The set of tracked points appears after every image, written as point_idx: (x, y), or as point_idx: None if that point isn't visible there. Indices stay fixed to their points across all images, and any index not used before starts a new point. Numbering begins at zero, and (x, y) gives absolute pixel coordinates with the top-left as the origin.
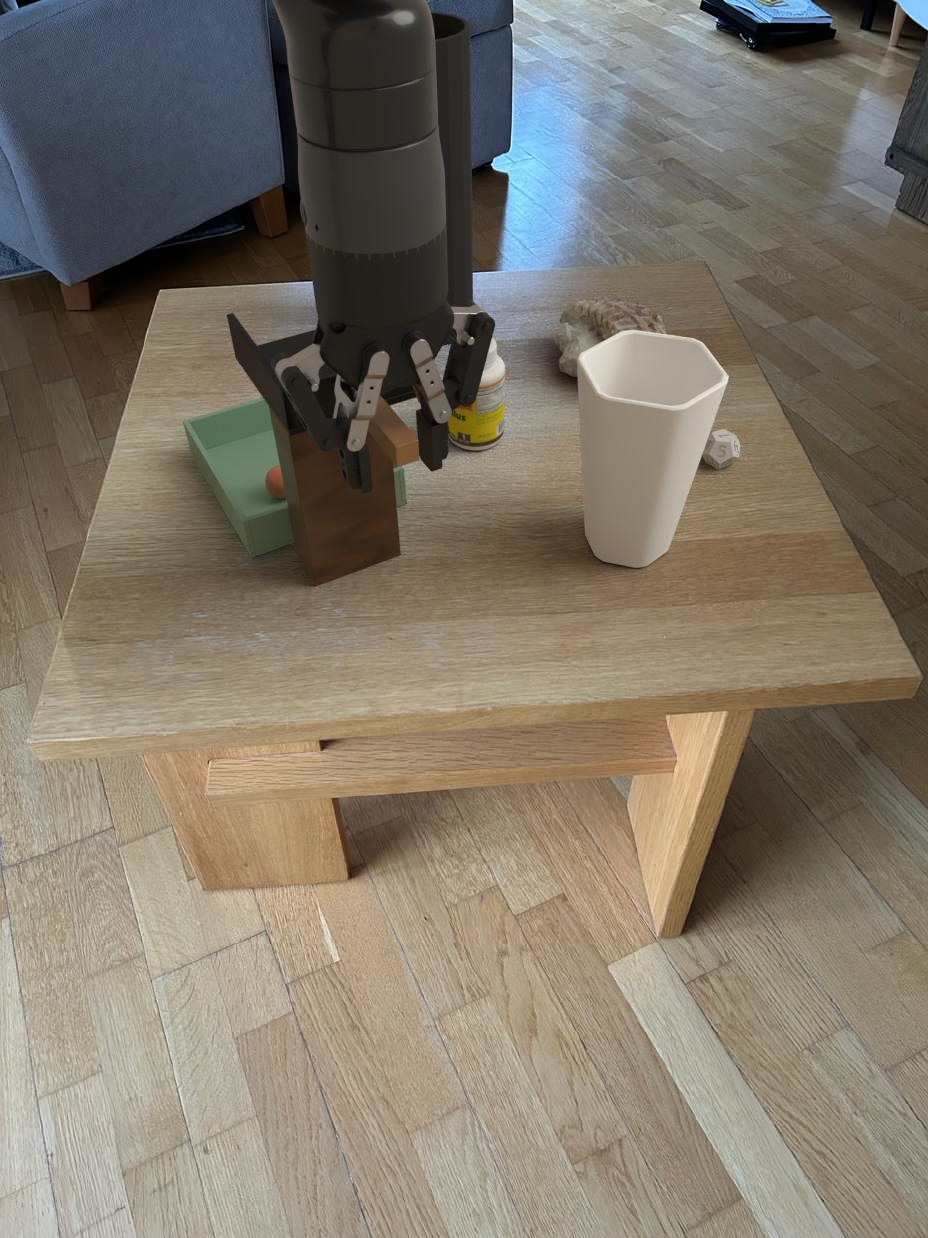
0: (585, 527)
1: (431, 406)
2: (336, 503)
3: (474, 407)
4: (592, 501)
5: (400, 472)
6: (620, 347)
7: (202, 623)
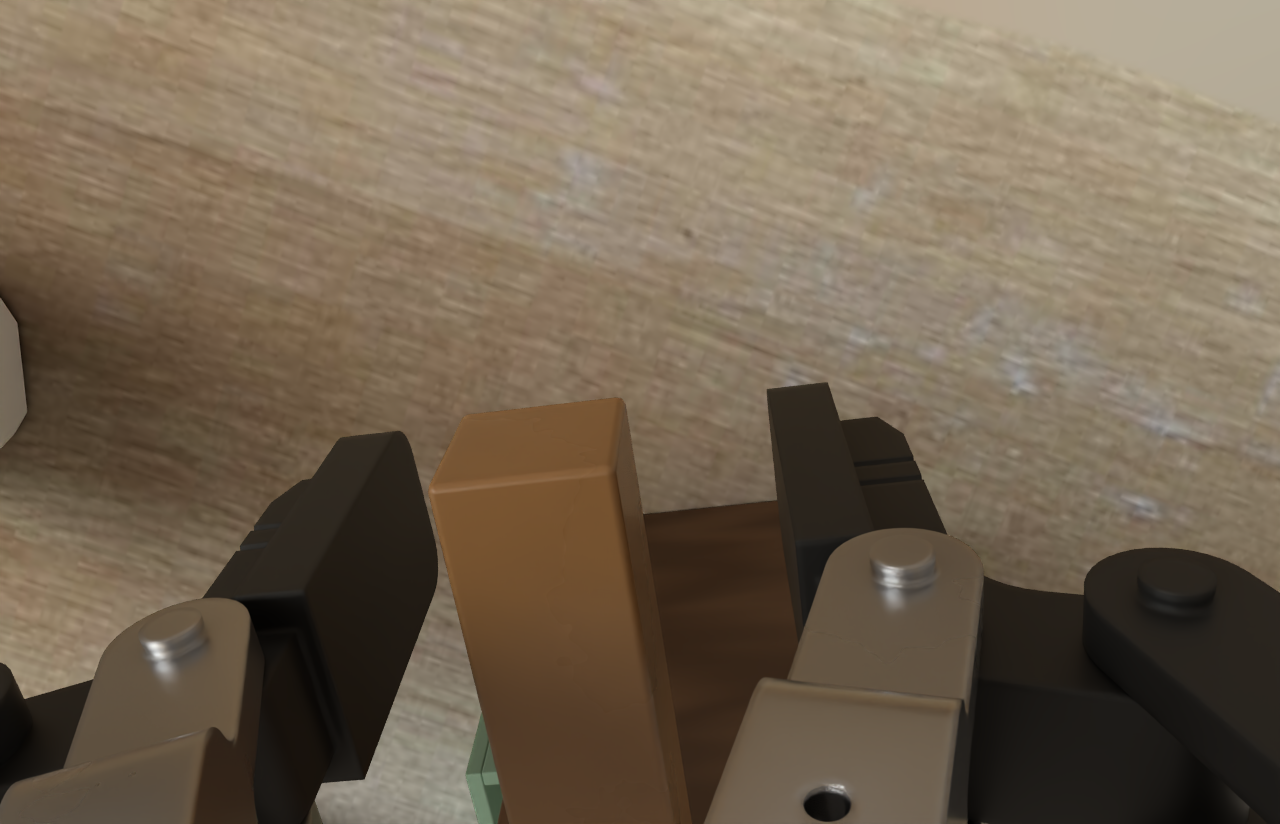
0: (10, 420)
1: (225, 698)
2: (737, 665)
3: None
4: None
5: (479, 766)
6: None
7: (1148, 475)
